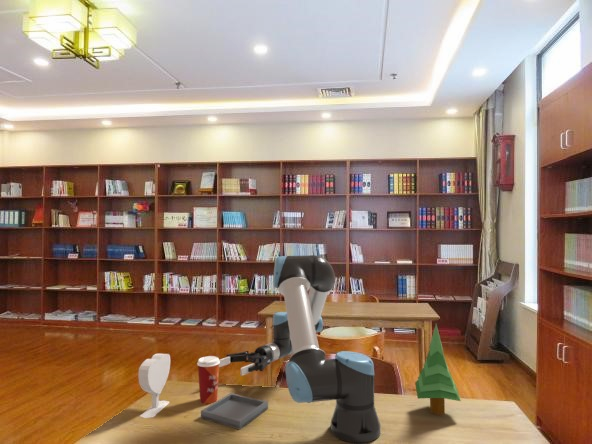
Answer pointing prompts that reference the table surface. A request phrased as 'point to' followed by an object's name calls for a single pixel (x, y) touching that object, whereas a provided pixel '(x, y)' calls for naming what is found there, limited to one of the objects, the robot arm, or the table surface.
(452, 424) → the table surface
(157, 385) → the heart sculpture
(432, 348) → the decorative tree
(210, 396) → the coffee cup
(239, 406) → the tray
